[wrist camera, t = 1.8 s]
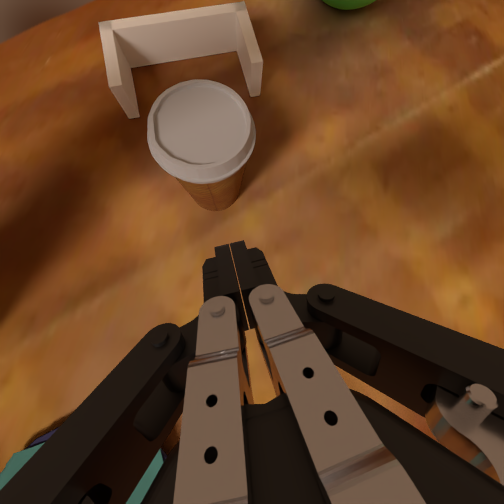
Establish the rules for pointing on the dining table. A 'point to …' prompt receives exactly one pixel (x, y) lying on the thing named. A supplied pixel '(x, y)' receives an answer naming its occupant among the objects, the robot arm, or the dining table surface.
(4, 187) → the dining table surface
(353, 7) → the toy bird
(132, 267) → the dining table surface
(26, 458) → the cutlery set
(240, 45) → the bay
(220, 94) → the disposable coffee cup
